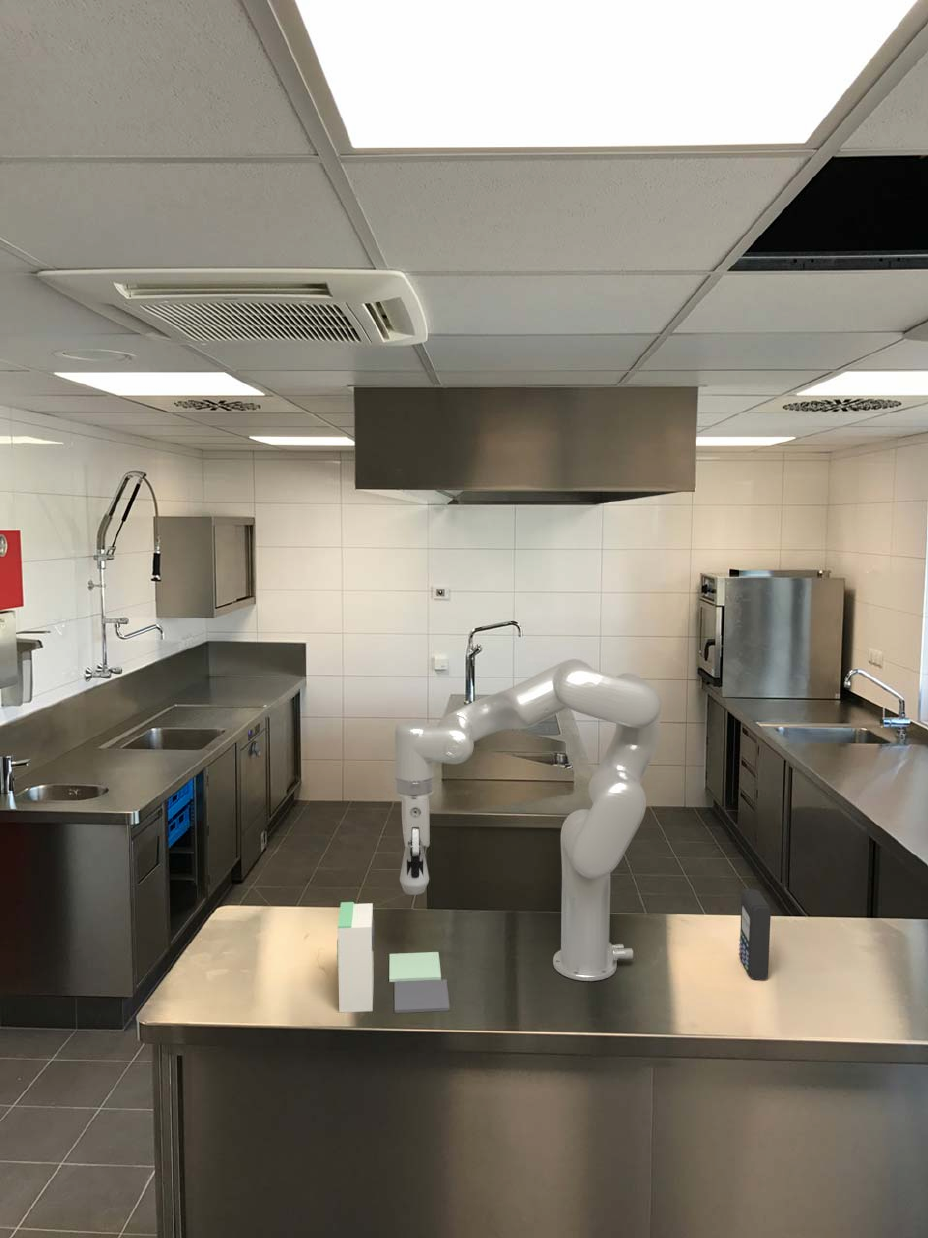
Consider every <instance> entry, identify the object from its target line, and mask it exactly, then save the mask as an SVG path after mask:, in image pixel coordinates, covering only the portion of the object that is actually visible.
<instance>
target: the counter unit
mask: <svg viewBox="0 0 928 1238" xmlns="http://www.w3.org/2000/svg"><path fill="white" fill-rule="evenodd" d="M373 905H374V903H373V902H372V903H355V902H354V901H346V902H345V901H344V902H340V908H339V914H338V922H337V941H336V946H337V947H336V948H337V949H336V950H337V951H336V953H337V969H338V1005H339V1006H338V1009H339V1011H338V1012H339V1013H341V1014H342V1013H359V1012H361V1013H362V1012H364V1013H365V1012H373V1008H374V987H375V984H374V983H375V982H374V981H375V980H374V977H375V972H374V967H375V964H374V959H375V958H374V952H375V951H374V950H375V920H374V906H373Z"/></svg>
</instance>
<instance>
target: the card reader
mask: <svg viewBox="0 0 928 1238" xmlns="http://www.w3.org/2000/svg"><path fill="white" fill-rule="evenodd" d="M740 902H741V904H740V932H739V934H740V936H739V937H740V938H739V939H738V940H739V948H738V951H739V952H738V955H739V959H740V960H741V962H742V965H743V966H744V968H745V970H746V972H747V974H748V976H749V977H750V978H751V979H753V980H767V978H768V976H769V965H770V963H769V962H770V961H769V960H770V941H771V940H770V939H771V938H770V937H771V917H772V913H771V912H772V909H771V907H770V905H769V904H768V902H767V900H766V899H765V898H764V897H763V895H762V893H761V892H760V891H759V890H757V889H755V888H745V889H743V890H742V892H741V900H740Z"/></svg>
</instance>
